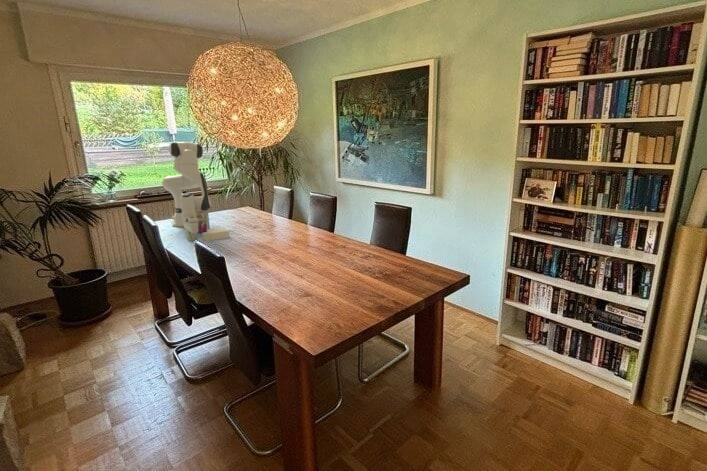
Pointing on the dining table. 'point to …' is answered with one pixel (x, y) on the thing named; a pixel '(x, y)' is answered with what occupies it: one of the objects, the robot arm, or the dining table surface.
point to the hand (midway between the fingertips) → (191, 237)
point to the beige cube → (206, 236)
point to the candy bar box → (202, 220)
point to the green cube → (190, 236)
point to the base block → (219, 233)
